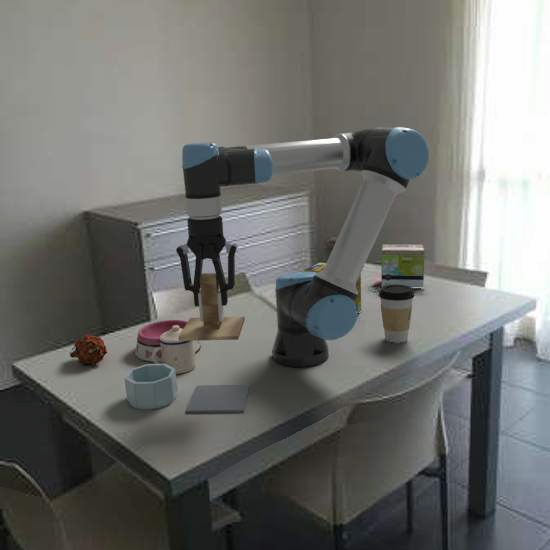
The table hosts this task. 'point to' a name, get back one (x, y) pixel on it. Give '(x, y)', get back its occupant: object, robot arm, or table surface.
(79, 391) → the table surface
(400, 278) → the tea box
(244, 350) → the table surface
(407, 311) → the coffee cup
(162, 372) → the ceramic bowl
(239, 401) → the slate mat
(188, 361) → the teacup with lid
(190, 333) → the oak lid
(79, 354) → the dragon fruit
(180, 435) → the table surface
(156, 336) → the dog bowl
